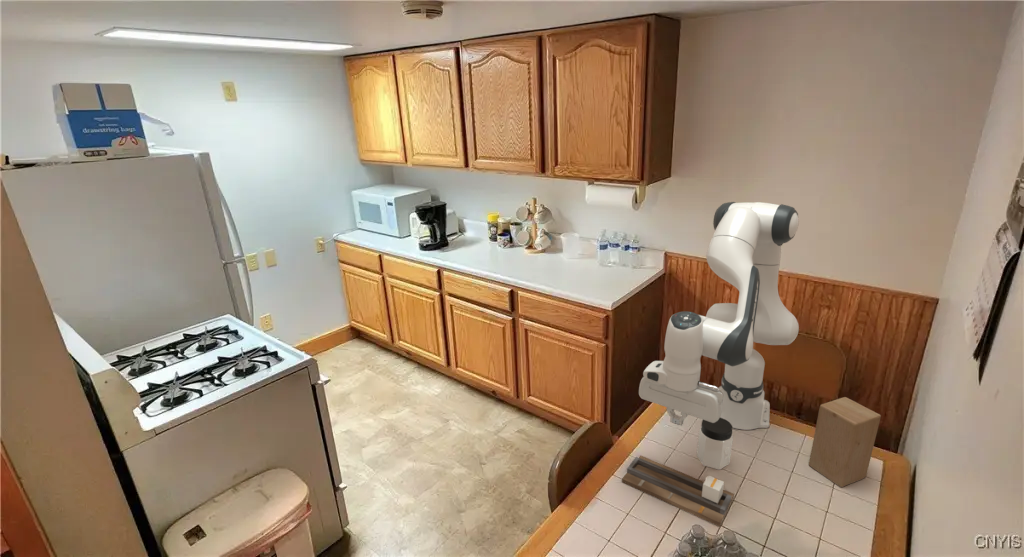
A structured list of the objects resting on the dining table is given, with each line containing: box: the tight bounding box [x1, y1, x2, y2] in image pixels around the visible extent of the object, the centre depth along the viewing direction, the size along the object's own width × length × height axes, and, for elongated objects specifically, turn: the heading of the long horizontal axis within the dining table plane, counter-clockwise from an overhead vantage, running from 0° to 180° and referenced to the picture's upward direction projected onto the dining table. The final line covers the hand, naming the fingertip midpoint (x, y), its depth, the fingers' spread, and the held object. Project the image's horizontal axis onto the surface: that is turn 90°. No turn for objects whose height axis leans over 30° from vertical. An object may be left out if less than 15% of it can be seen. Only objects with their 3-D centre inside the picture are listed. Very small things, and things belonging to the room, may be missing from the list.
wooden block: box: [808, 396, 882, 488], centre depth 135 cm, size 10×10×20 cm
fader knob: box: [702, 475, 725, 504], centre depth 127 cm, size 4×4×6 cm
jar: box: [696, 418, 734, 470], centre depth 143 cm, size 9×8×12 cm
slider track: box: [621, 455, 735, 528], centre depth 133 cm, size 12×26×3 cm, turn 52°
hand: (676, 422), depth 128 cm, fingers closed
